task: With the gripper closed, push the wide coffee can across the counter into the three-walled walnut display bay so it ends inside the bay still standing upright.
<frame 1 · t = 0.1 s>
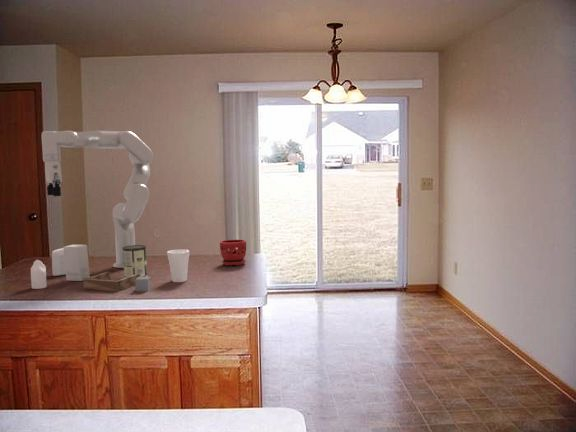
hand: (54, 195, 267), 37 cm above the table, tool pointing down, fingers open, 9 cm apart
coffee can: (135, 277, 263), on the table
foam cup: (179, 281, 255), on the table
display bay: (112, 285, 247), on the table
skincare box: (77, 280, 260), on the table
grey block: (143, 289, 239), on the table
photo printer: (64, 274, 272), on the table
roll: (39, 287, 246), on the table
plant pot: (233, 264, 290), on the table
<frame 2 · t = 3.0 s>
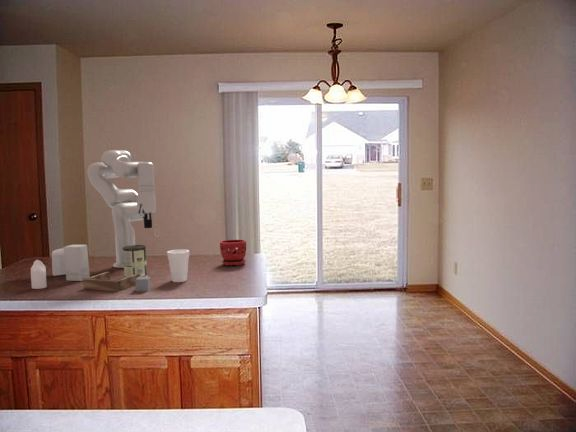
hand: (148, 227, 272), 21 cm above the table, tool pointing down, fingers closed
nothing on the table moved.
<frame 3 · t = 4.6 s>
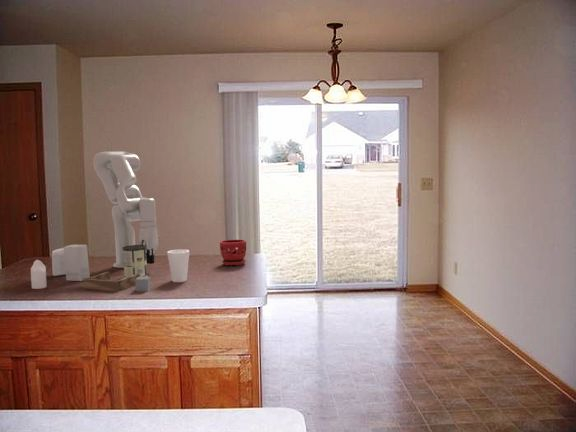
hand: (150, 263, 274), 4 cm above the table, tool pointing down, fingers closed
nothing on the table moved.
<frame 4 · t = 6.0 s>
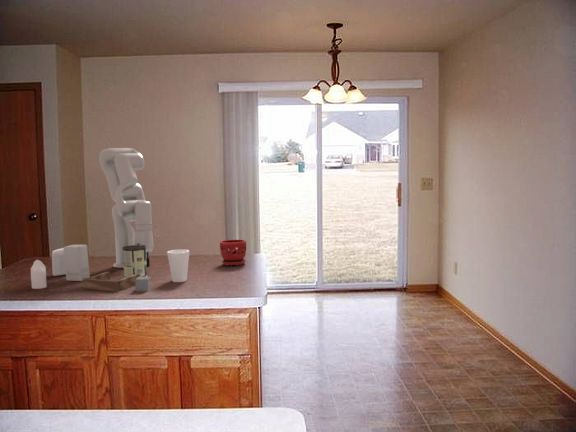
hand: (145, 266, 271), 3 cm above the table, tool pointing down, fingers closed
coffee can: (135, 277, 263), on the table, touching gripper
everything else where it was.
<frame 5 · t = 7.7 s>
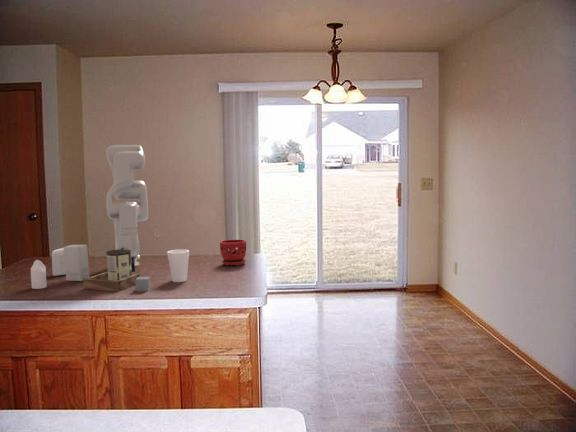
hand: (130, 271, 259), 3 cm above the table, tool pointing down, fingers closed
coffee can: (120, 283, 252), on the table, touching gripper
everything else where it was.
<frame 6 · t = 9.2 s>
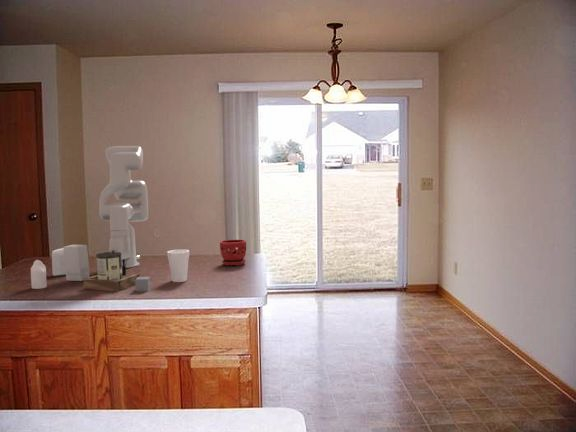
hand: (121, 275, 253), 3 cm above the table, tool pointing down, fingers closed
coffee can: (110, 287, 246), on the table, touching display bay, gripper
everything else where it was.
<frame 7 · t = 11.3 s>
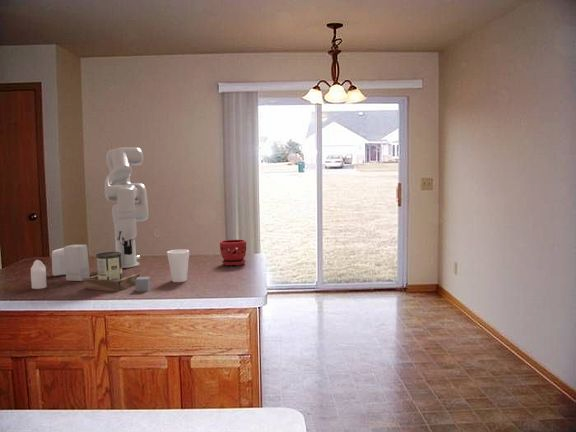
hand: (128, 254, 264), 10 cm above the table, tool pointing down, fingers closed
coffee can: (110, 287, 246), on the table
everything else where it was.
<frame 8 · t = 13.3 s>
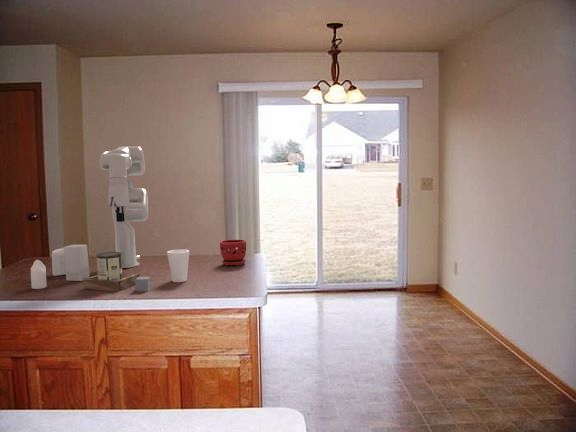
hand: (120, 221, 265), 25 cm above the table, tool pointing down, fingers closed
nothing on the table moved.
at the end: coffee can inside the target area on the display bay (1.2 cm from its centre), point 0.0 cm above the display bay's base; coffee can tilted 0°; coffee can moved 18.7 cm from its start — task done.
